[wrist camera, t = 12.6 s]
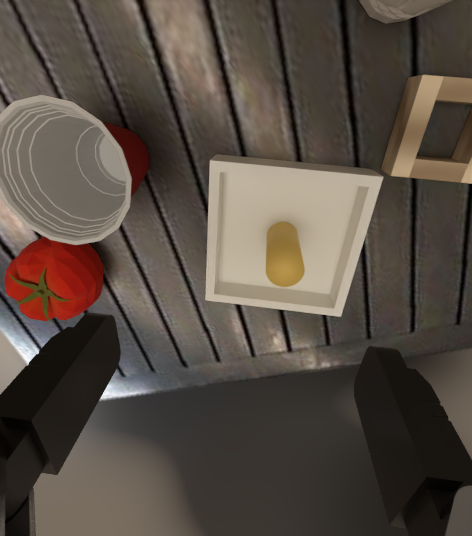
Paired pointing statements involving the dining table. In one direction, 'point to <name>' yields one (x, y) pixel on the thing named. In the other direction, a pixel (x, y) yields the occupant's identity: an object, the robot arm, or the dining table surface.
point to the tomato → (55, 279)
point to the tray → (291, 211)
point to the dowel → (283, 255)
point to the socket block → (413, 127)
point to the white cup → (399, 9)
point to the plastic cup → (67, 169)
